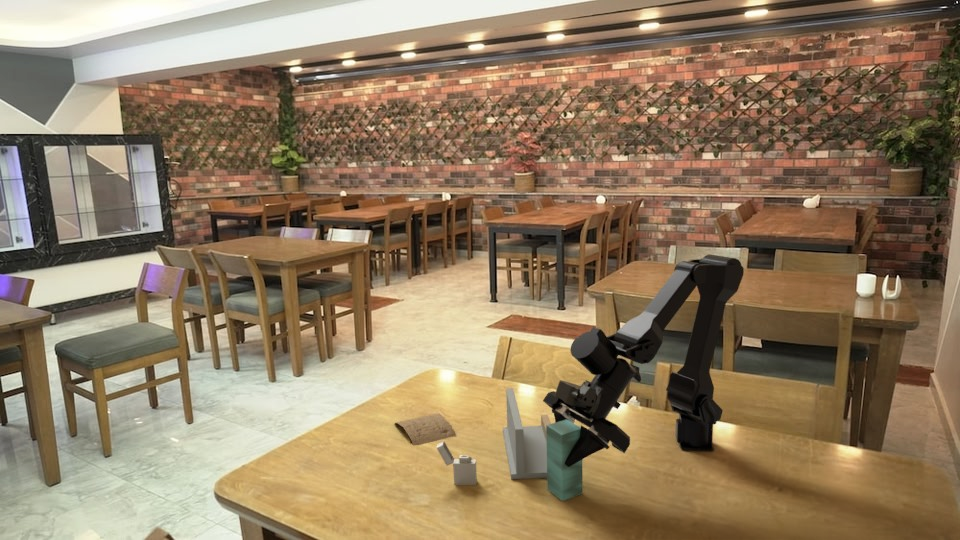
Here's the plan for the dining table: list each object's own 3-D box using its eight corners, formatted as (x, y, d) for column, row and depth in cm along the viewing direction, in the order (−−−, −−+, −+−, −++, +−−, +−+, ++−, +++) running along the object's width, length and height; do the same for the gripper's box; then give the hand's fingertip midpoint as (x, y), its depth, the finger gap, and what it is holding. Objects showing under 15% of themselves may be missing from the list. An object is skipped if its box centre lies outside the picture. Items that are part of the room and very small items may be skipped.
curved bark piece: (458, 439, 133) (457, 427, 132) (415, 450, 128) (414, 438, 128) (432, 415, 145) (431, 405, 145) (391, 425, 141) (391, 414, 140)
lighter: (476, 479, 115) (475, 440, 113) (476, 484, 113) (474, 445, 112) (439, 479, 115) (437, 440, 114) (438, 484, 114) (436, 444, 112)
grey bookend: (552, 429, 135) (551, 386, 133) (569, 476, 115) (568, 426, 113) (502, 431, 134) (501, 388, 132) (511, 479, 115) (509, 429, 113)
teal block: (567, 482, 113) (566, 419, 111) (582, 493, 109) (582, 428, 107) (547, 489, 111) (546, 425, 108) (562, 501, 107) (561, 435, 105)
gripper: (550, 350, 115) (502, 418, 112) (617, 380, 99) (564, 460, 96) (583, 380, 121) (538, 447, 117) (652, 414, 105) (602, 491, 101)
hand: (558, 459), depth 108 cm, fingers closed on teal block, 4 cm apart
